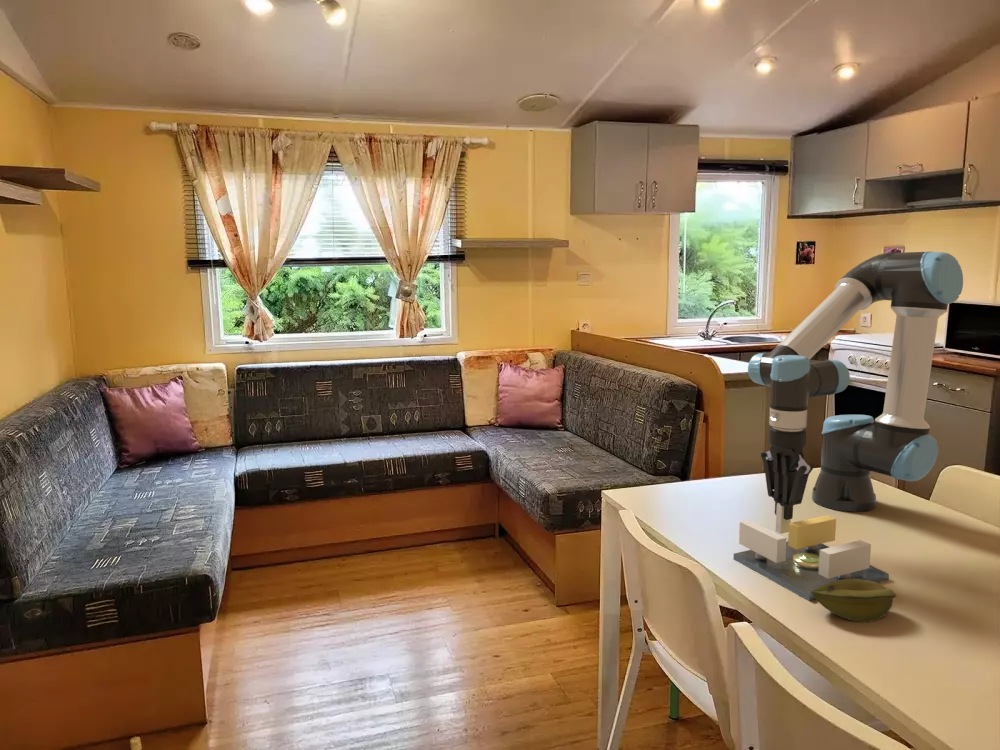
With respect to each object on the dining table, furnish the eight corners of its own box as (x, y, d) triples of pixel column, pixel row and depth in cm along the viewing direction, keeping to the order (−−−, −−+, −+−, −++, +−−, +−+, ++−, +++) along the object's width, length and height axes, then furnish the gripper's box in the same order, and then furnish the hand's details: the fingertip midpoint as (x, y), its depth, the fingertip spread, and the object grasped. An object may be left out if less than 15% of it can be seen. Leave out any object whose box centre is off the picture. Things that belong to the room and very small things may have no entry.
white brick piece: (858, 568, 143) (860, 540, 142) (869, 573, 141) (871, 544, 140) (818, 579, 139) (819, 549, 138) (827, 584, 137) (829, 554, 136)
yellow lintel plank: (825, 541, 157) (827, 515, 156) (834, 545, 155) (836, 518, 154) (787, 550, 153) (789, 523, 152) (796, 554, 151) (797, 527, 150)
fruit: (880, 637, 121) (883, 601, 120) (808, 614, 129) (810, 580, 128) (898, 611, 129) (900, 577, 128) (829, 592, 137) (831, 560, 136)
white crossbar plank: (738, 548, 155) (739, 521, 154) (747, 546, 155) (748, 520, 154) (776, 568, 145) (777, 539, 144) (785, 566, 145) (786, 537, 144)
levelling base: (807, 541, 161) (807, 530, 160) (888, 579, 142) (889, 566, 141) (733, 558, 153) (733, 546, 153) (809, 601, 134) (810, 587, 133)
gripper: (752, 423, 157) (748, 524, 160) (797, 436, 145) (791, 545, 149) (778, 419, 159) (774, 519, 163) (824, 432, 147) (819, 539, 151)
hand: (782, 531), depth 156 cm, fingers closed
